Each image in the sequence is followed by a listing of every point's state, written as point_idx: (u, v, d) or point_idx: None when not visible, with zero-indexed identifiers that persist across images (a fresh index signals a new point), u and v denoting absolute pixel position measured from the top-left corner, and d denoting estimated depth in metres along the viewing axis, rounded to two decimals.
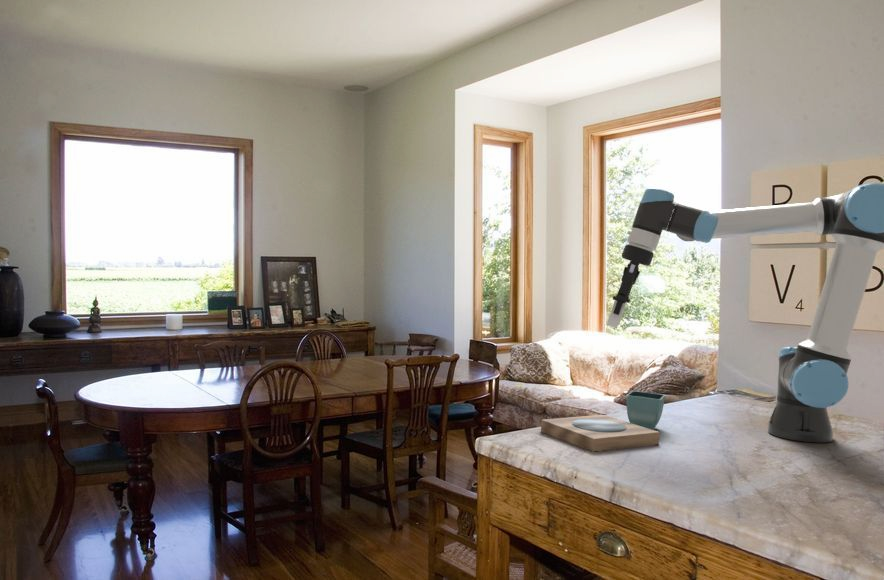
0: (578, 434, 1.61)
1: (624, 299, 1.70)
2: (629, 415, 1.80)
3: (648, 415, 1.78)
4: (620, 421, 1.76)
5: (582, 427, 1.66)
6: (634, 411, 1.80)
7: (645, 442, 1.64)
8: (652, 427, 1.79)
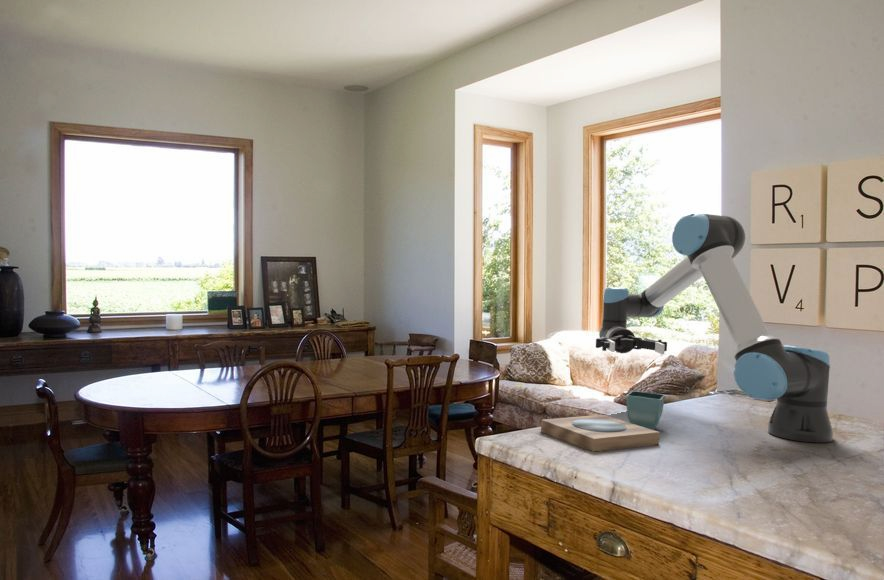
0: (578, 434, 1.61)
1: (596, 340, 1.99)
2: (629, 415, 1.80)
3: (648, 415, 1.78)
4: (620, 421, 1.76)
5: (582, 427, 1.66)
6: (634, 411, 1.80)
7: (645, 442, 1.64)
8: (652, 427, 1.79)
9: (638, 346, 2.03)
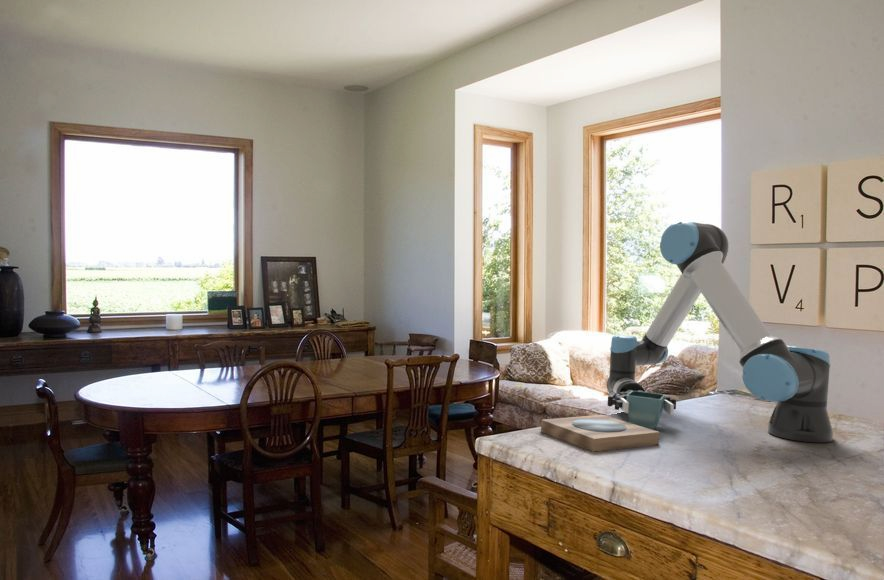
0: (578, 434, 1.61)
1: (608, 398, 1.86)
2: (629, 415, 1.80)
3: (648, 415, 1.78)
4: (620, 421, 1.76)
5: (582, 427, 1.66)
6: (634, 411, 1.80)
7: (645, 442, 1.64)
8: (652, 427, 1.79)
9: None
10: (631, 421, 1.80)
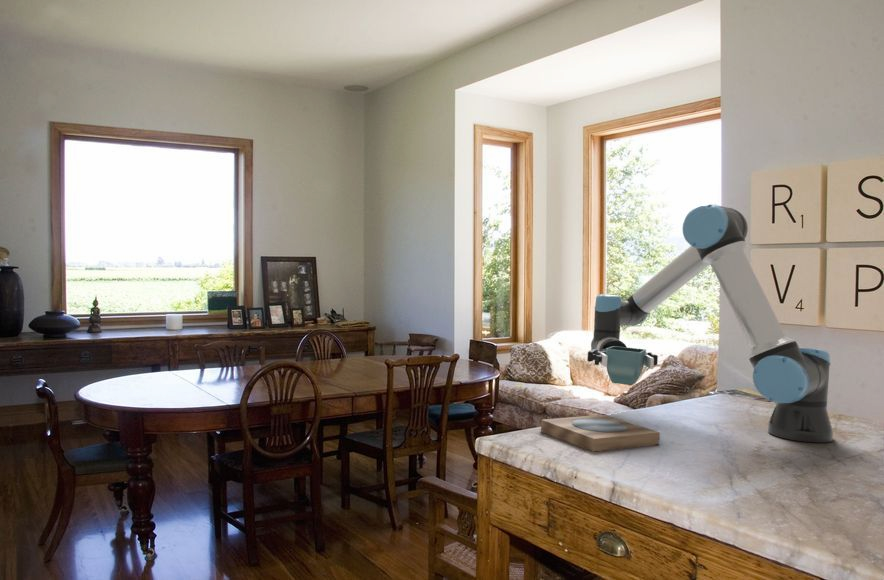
0: (578, 434, 1.61)
1: (588, 353, 1.82)
2: (608, 369, 1.76)
3: (627, 369, 1.74)
4: (620, 421, 1.76)
5: (582, 427, 1.66)
6: (613, 365, 1.76)
7: (645, 442, 1.64)
8: (631, 381, 1.75)
9: None
10: (610, 375, 1.77)
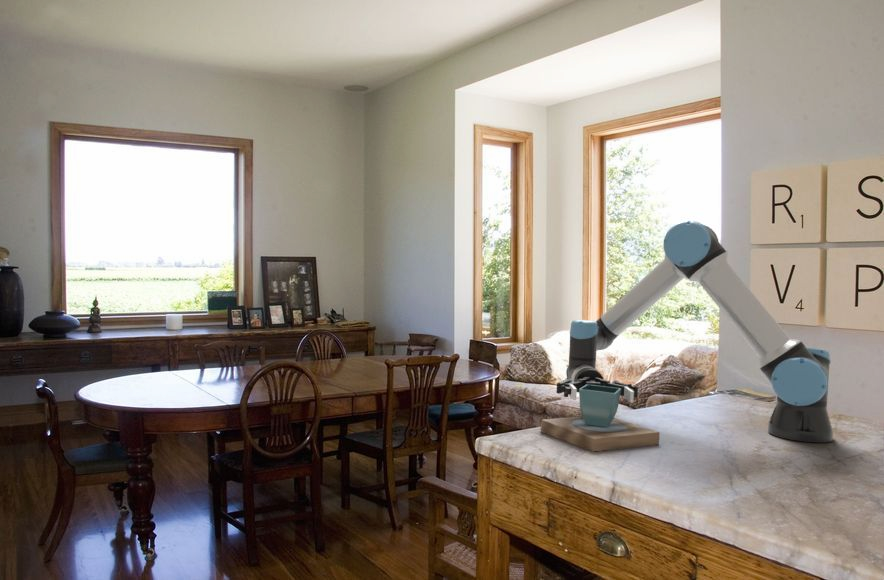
0: (578, 434, 1.61)
1: (557, 384, 1.74)
2: (582, 410, 1.68)
3: (602, 411, 1.66)
4: (620, 421, 1.76)
5: (582, 427, 1.66)
6: (587, 406, 1.67)
7: (645, 442, 1.64)
8: (606, 423, 1.66)
9: None
10: (584, 417, 1.68)
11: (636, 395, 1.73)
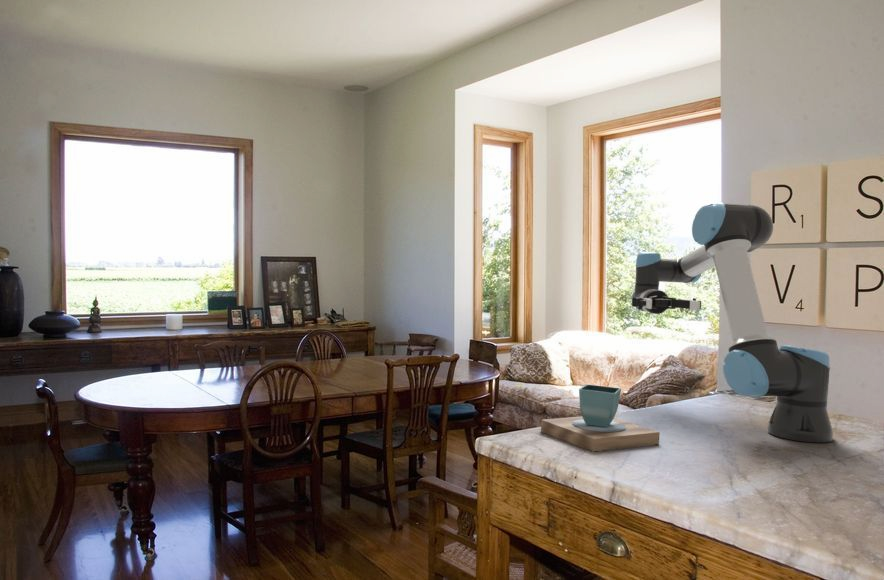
0: (578, 434, 1.61)
1: (632, 299, 2.06)
2: (582, 410, 1.68)
3: (602, 411, 1.66)
4: (620, 421, 1.76)
5: (582, 427, 1.66)
6: (587, 406, 1.67)
7: (645, 442, 1.64)
8: (606, 423, 1.66)
9: (672, 306, 2.10)
10: (584, 417, 1.68)
11: (700, 308, 2.05)
